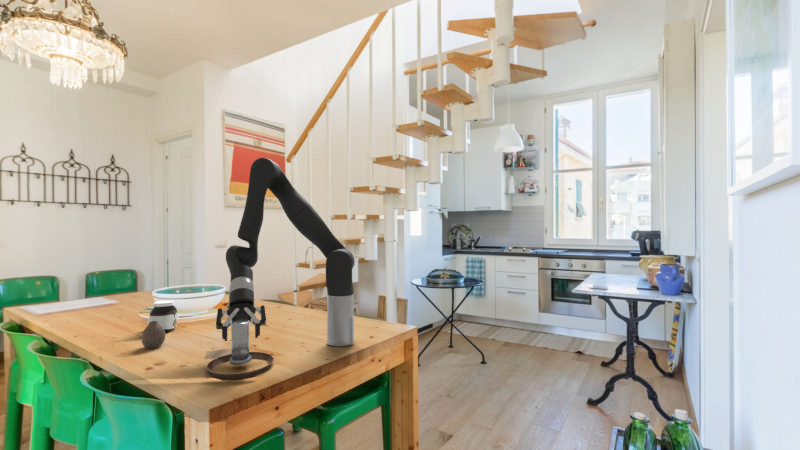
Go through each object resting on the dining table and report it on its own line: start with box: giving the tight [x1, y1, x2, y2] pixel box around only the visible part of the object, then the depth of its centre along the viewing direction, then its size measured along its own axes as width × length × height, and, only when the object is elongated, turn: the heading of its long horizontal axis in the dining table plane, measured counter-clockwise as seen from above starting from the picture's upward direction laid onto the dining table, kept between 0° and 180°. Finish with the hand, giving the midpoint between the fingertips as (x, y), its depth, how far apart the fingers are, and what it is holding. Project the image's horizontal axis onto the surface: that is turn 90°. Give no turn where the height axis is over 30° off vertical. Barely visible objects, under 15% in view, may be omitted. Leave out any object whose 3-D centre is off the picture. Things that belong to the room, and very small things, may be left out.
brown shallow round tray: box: [206, 351, 275, 382], centre depth 109 cm, size 18×18×3 cm
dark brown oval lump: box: [140, 321, 166, 350], centre depth 132 cm, size 7×7×9 cm
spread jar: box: [146, 300, 178, 334], centre depth 154 cm, size 12×11×12 cm
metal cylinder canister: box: [229, 321, 253, 366], centre depth 109 cm, size 6×6×11 cm
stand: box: [204, 348, 232, 360], centre depth 122 cm, size 8×8×1 cm
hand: (241, 338), depth 115 cm, fingers open, 8 cm apart
